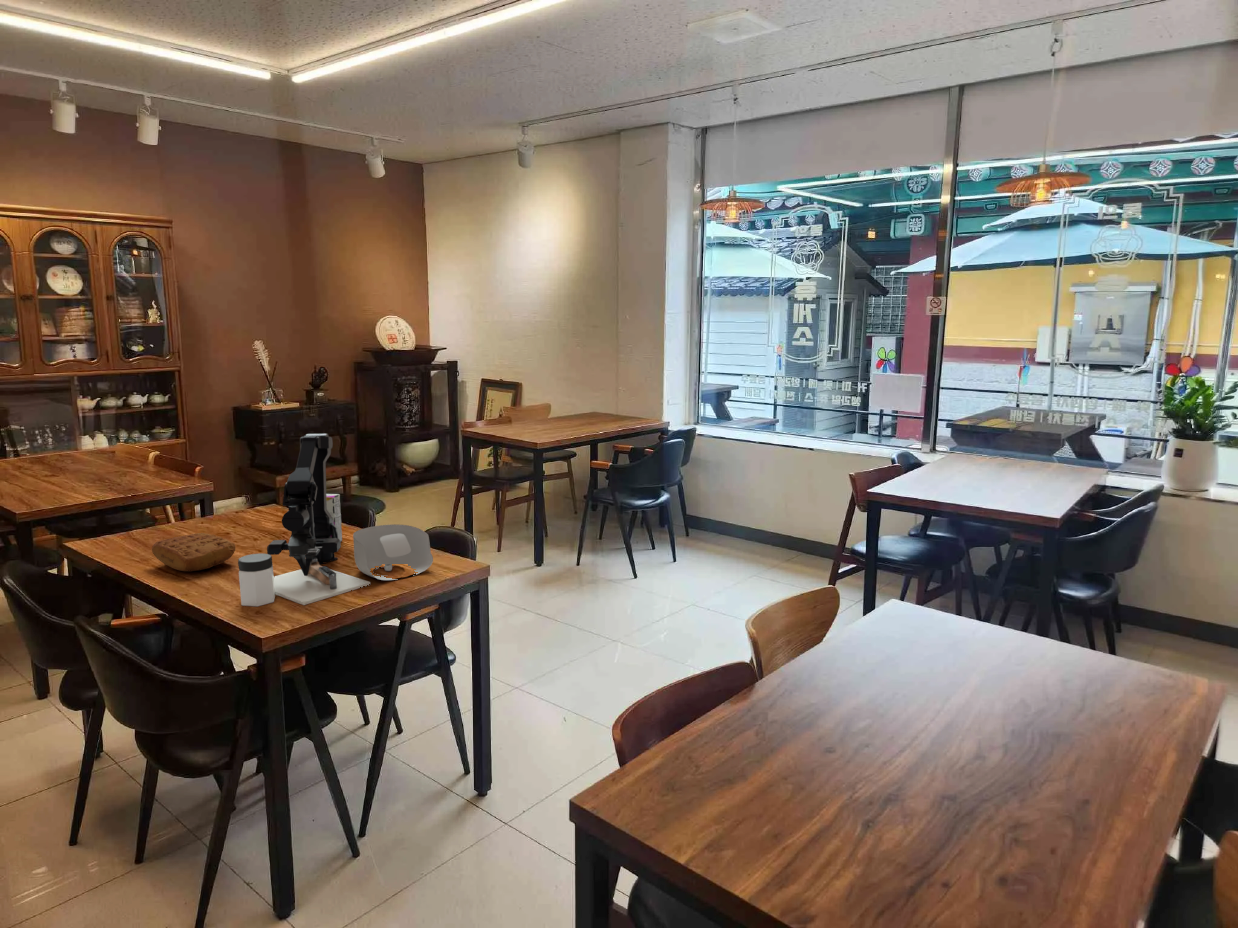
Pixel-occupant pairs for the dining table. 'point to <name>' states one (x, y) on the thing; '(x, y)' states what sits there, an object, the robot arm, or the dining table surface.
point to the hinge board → (313, 586)
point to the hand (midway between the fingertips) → (306, 575)
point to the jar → (256, 579)
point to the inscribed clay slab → (193, 551)
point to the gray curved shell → (391, 548)
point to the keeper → (328, 574)
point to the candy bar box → (335, 512)
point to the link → (318, 573)
